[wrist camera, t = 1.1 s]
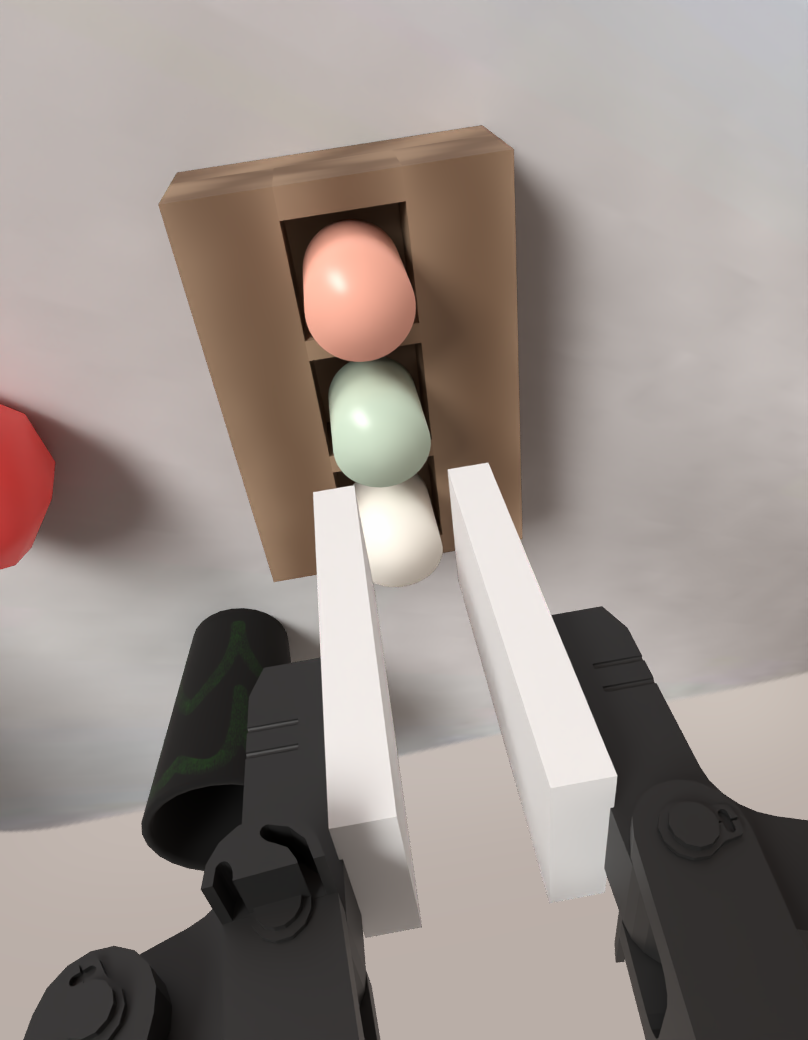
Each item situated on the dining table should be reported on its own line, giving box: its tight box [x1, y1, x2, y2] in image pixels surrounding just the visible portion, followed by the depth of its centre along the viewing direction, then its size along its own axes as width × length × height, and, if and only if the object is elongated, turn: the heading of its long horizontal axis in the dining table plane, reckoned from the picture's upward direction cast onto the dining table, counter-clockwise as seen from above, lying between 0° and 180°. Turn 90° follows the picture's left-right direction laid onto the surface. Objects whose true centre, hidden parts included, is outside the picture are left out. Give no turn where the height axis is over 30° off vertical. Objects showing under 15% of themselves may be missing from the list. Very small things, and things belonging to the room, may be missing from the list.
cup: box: [142, 608, 291, 871], centre depth 39 cm, size 8×8×12 cm
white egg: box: [354, 473, 443, 587], centre depth 31 cm, size 4×4×4 cm
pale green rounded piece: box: [328, 357, 431, 487], centre depth 28 cm, size 4×4×4 cm
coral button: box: [303, 219, 416, 362], centre depth 25 cm, size 4×4×4 cm
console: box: [158, 125, 522, 582], centre depth 31 cm, size 12×17×5 cm
